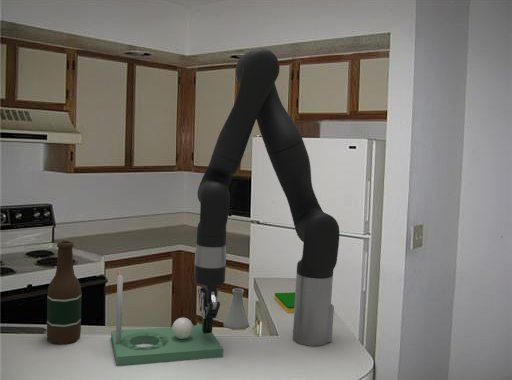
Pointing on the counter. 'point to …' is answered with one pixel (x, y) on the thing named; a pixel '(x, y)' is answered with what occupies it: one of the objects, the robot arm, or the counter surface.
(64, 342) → the beer bottle
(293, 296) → the dish sponge
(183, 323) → the ball
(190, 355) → the putting board
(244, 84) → the robot arm
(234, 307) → the flask
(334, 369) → the counter surface
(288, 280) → the counter surface
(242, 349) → the counter surface
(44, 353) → the counter surface
